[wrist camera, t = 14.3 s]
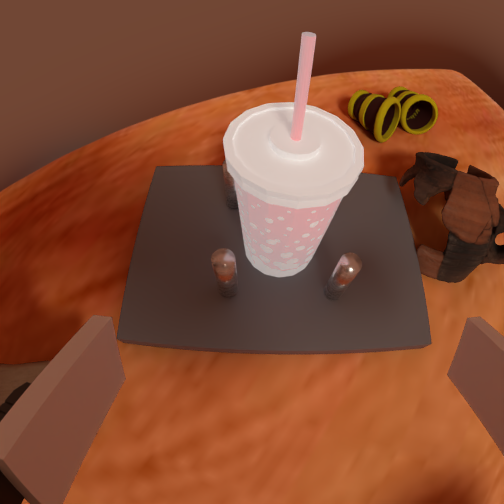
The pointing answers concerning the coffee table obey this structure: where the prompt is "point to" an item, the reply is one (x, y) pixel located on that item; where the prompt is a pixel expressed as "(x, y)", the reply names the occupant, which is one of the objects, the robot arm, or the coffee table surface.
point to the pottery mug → (458, 216)
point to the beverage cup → (290, 174)
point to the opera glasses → (393, 112)
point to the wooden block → (18, 376)
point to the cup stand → (270, 287)
